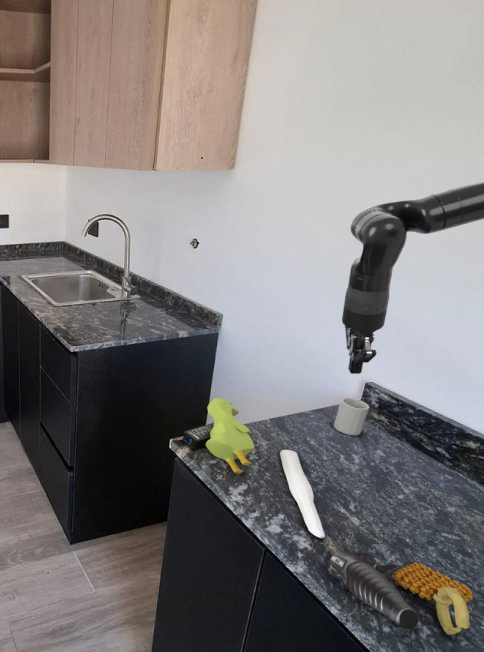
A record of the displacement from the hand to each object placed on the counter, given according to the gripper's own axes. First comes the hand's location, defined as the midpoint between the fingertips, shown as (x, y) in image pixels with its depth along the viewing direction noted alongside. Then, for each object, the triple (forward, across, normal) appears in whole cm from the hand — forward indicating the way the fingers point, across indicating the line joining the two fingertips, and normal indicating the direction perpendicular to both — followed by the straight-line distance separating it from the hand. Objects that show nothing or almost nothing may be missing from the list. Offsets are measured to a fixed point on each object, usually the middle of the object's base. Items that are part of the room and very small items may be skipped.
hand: (354, 371), depth 108 cm
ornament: (+12, -40, 0) cm, 42 cm away
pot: (+22, +6, -2) cm, 23 cm away
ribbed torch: (+10, -46, +6) cm, 47 cm away
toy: (+10, -21, +24) cm, 34 cm away
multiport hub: (+12, -10, +33) cm, 37 cm away
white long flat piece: (+13, -24, +15) cm, 31 cm away
